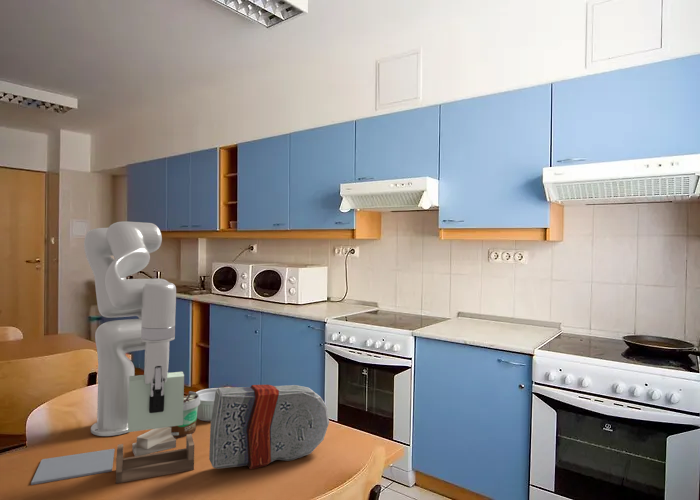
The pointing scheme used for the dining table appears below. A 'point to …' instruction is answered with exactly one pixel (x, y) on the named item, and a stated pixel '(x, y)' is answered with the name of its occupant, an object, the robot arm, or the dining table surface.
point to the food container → (187, 416)
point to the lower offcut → (155, 447)
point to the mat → (74, 466)
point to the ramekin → (206, 404)
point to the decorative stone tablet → (265, 425)
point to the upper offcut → (153, 437)
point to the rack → (154, 463)
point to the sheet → (140, 403)
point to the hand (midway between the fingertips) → (156, 407)
